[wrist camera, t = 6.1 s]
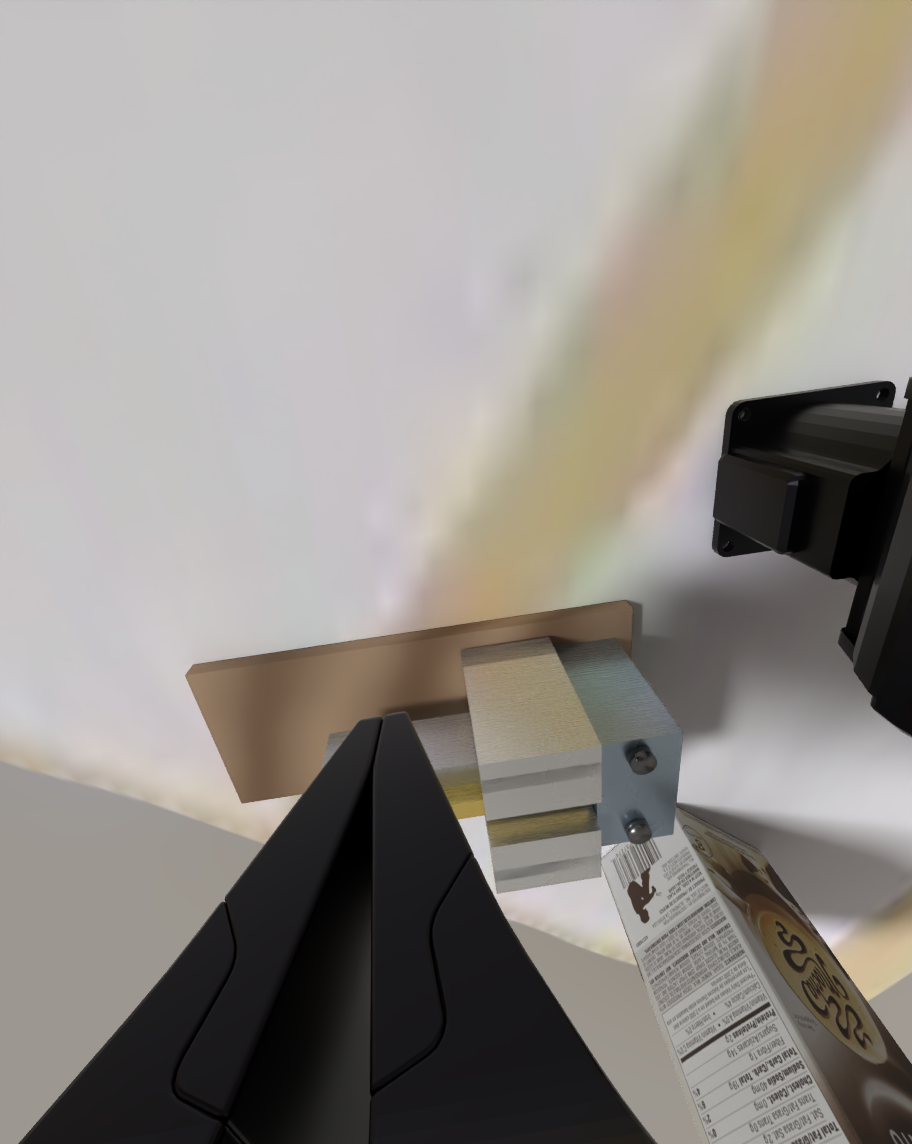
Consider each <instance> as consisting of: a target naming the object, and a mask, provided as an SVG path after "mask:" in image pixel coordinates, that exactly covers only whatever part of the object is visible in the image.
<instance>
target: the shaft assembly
mask: <svg viewBox="0 0 912 1144" xmlns="http://www.w3.org/2000/svg"><path fill="white" fill-rule="evenodd" d="M554 649H555V651H556V653H557V655H558V657H559V659H560V661H561V663H562V665H563V667H564V669H565V671H566V673H567V675H568V678H569V680H570V682H571V684H572V686H573V688H574V690H575V692H576V694H577V696H578V698H579V700H580V702H581V704H582V706H583V708H584V710H585V713H586V715H587V717H588V719H589V721H590V723H591V725H592V727H593V729H594V731H595V733H596V735H597V737H598V739H599V741H600V743H601V745H602V795H601V803H596V804H591V805H592V808H593V810H594V813H595V815H596V818H597V820H598V823H599V825H600V828H601V846H605V845H612V844H618V843H624V842H631V843H633V844H643V843H646V842H647V841H649V840H650V839H651V838H655V837H661V836H667V835H673V833H674V822H675V812H676V802H677V791H678V781H679V770H680V760H681V750H682V739H683V731H682V730H681V728H680V727H679V726H678V724H677V723H676V721H675V720H674V719H673V717H672V716H671V715H670V713H669V712H668V710H667V709H666V708H665V706H664V705H663V704H662V702H661V701H660V699H659V698H658V697H657V695H656V694H655V692H654V691H653V690H652V688H651V687H650V686H649V684H648V683H647V681H646V680H645V679H644V677H643V676H642V674H641V673H640V672H639V670H638V669H637V668H636V666H635V665H634V663H633V662H632V661H631V659H630V658H629V656H628V655H627V654H626V652H625V651H624V650H623V648H622V647H621V645H620V644H619V643H618V641H617V640H616V639H615V637H614V638H607V639H601V640H594V641H588V642H581V643H575V644H568V645H561V646H555V647H554ZM412 723H413V726H414V728H415V730H416V732H417V734H418V736H419V738H420V741H421V743H422V745H423V747H424V749H425V751H426V753H427V756H428V758H429V760H430V762H431V764H432V766H433V768H434V771H435V773H436V775H437V777H438V779H439V781H440V783H441V785H442V788H443V790H444V792H445V794H446V796H447V798H448V800H449V803H450V805H451V807H452V809H453V811H454V813H455V815H456V818H457V819H464V818H470V817H476V816H482V815H486V814H485V808H484V801H483V795H482V788H481V781H480V774H479V767H478V761H477V754H476V748H475V742H474V735H473V729H472V723H471V716H470V712H468V713H461V714H455V715H448V716H442V717H435V718H429V719H422V720H416V721H412ZM350 732H351V731H344V732H338V733H331V734H329V739H328V743H327V747H326V752H325V756H324V760H323V765H322V768H323V767H324V766H325V764H326V763H327V762H328V761H329V759H330V758H331V757H332V755H333V754H334V753H335V751H336V750H337V749H338V747H339V746H340V745H341V743H342V742H343V741H344V739H345V738H346V737H347V736H348V734H349V733H350ZM321 770H322V769H321Z"/></svg>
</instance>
